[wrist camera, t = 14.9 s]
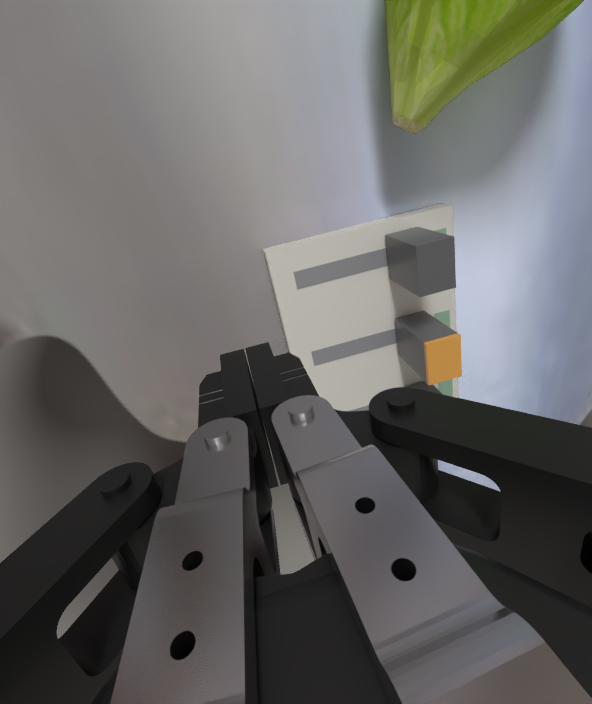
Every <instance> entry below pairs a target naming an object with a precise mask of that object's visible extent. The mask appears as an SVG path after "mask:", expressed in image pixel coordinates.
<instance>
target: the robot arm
mask: <svg viewBox="0 0 592 704" xmlns="http://www.w3.org/2000/svg"><path fill="white" fill-rule="evenodd" d="M245 349H246V353H247V357H248V362H249V366H250V370H251V374H252V377H251V374H250V370H249V366H248V363H247V359H246V356H245V352H244V349H241V350H237V351H233V352H229V353H226V354H222V355H220V361H221V371H219V372H215V373H212V374H208V375H206V377H205V378H204V379H203V381H202V382H201V384H200V388H199V395H200V397H199V419H198V429H197V430H195V431H194V432H193V433H192V434H191V436H190V437H189V439H188V440H187V443H186V448H185V453H184V457H183V458H182V459H180V460H179V461H177V462H175V463H174V464H172V465H170V466H168V467H167V468H164V469H162V470H160V471H158V472H156V473H155V474H153V472H152V470H151V468H150V467H149V466H148V465H146V464H144V463H139V462H137V463H136V462H134V463H127V464H124V465H121V466H118V467H115V468H113V469H111V470H109V471H107V472H106V473H104V474H103V475H101V476H100V477H98V478H97V479H96V480H95V481H94V482H92V483H91V484H90V485H89V486H88V487H87V488H86V489H84V490H83V491H82V492H81V493H80V494H79V495H78V496H76V497H75V498H74V499H73V500H72V501H71V502H70V503H68V504H67V505H66V506H65V507H64V508H63V509H62V510H60V511H59V512H58V513H57V514H56V515H55V516H54V517H52V518H51V519H50V520H49V521H48V522H47V523H46V524H44V525H43V526H42V527H41V528H40V529H39V530H38V531H37V532H36V533H34V534H33V535H32V536H31V537H30V538H29V539H27V540H26V541H25V542H24V543H23V544H22V545H21V546H19V547H18V548H17V549H16V550H15V551H14V552H13V553H11V554H10V555H9V556H8V557H7V558H6V559H5V560H3V561H2V562H1V563H0V704H592V428H590V427H585V426H581V425H577V424H572V423H568V422H563V421H559V420H554V419H550V418H545V417H541V416H536V415H532V414H528V413H523V412H519V411H514V410H510V409H505V408H501V407H496V406H492V405H487V404H483V403H478V402H474V401H469V400H465V399H460V398H456V397H451V396H447V395H442V394H438V393H434V392H429V391H425V390H420V389H416V388H410V387H397V388H391V389H387V390H384V391H382V392H379V393H378V394H376V395H375V396H374V397H373V398H372V399H371V400H370V402H369V410H365V411H340V410H335V409H334V408H333V407H332V406H331V404H330V403H329V402H328V401H327V400H326V399H324V398H322V397H319V395H318V393H317V391H316V389H315V387H314V385H313V383H312V381H311V379H310V377H309V376H308V374H307V372H306V370H305V368H304V366H303V364H302V362H301V360H300V358H299V357H297V356H295V355H293V354H291V353H286V354H282V355H278V356H275V357H274V356H273V353H272V351H271V348H270V345H269V343H268V342H267V343H263V344H259V345H256V346H252V347H248V348H245ZM252 379H253V381H252ZM253 383H254V384H253ZM254 387H255V388H254ZM265 430H266V431H265ZM266 434H267V436H266ZM267 437H268V440H267ZM268 441H269V444H270V448H271V451H272V455H273V459H274V462H275V466H276V469H277V473H278V476H279V480H280V483H281V485H282V484H286V483H289V487H290V491H291V494H292V498H293V501H294V505H295V509H296V512H297V515H298V517H299V520H300V523H301V525H302V528H303V530H304V533H305V536H306V538H307V541H308V544H309V546H310V549H311V551H312V554H313V557H314V560H315V561H314V562H312V563H310V564H309V565H307V566H306V567H304V568H302V569H301V570H299V571H297V572H295V573H292V574H286V575H280V565H279V556H278V547H277V537H276V529H275V519H274V513H273V509H272V496H271V491H270V488H273V487H276V486H278V482H277V478H276V474H275V470H274V465H273V461H272V457H271V453H270V448H269V444H268ZM438 460H441V461H444V462H447V463H450V464H453V465H456V466H459V467H462V468H465V469H468V470H471V471H474V472H477V473H480V474H482V475H485V476H487V477H488V478H490V479H491V480H492V481H494V482H495V483H496V484H497V486H498V487H499V489H500V491H501V492H500V491H497V490H494V489H491V488H488V487H485V486H482V485H480V484H477V483H474V482H471V481H468V480H465V479H463V478H460V477H457V476H454V475H451V474H448V473H445V472H443V471H440V470H438ZM111 557H112V558H113V560H114V562H115V563H116V565H117V567H118V569H119V571H118V572H117V573H116V574H115V575H114V577H113V578H112V579H111V580H110V581H109V582H108V584H107V585H106V586H105V587H104V588H103V589H102V591H101V592H100V593H99V594H98V595H97V596H96V598H95V599H94V600H93V601H92V602H91V603H90V604H89V606H88V607H87V608H86V609H85V610H84V612H83V613H82V614H81V615H80V616H79V617H78V618H77V620H76V621H75V622H74V623H73V624H72V625H71V627H70V628H69V629H68V630H67V631H66V632H65V633H64V634H63V636H62V637H60V638H59V639H58V638H57V634H56V631H57V625H58V622H59V619H60V617H61V615H62V613H63V612H64V610H65V609H66V607H67V606H68V605H69V604H70V603H71V602H72V600H73V599H74V598H75V597H76V596H77V595H78V594H79V593H80V592H81V591H82V589H83V588H84V587H85V586H86V585H87V584H88V583H89V582H90V580H91V579H92V578H93V577H94V576H95V575H96V574H97V573H98V572H99V571H100V570H101V568H102V567H103V566H104V565H105V564H106V563H107V562H108V561H109V559H110V558H111Z"/></svg>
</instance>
